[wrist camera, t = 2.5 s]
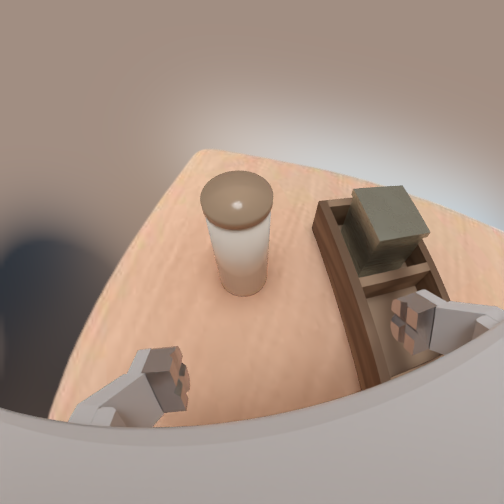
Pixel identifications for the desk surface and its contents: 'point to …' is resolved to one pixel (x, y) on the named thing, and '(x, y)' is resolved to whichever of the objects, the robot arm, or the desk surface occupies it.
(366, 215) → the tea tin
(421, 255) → the crate
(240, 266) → the lidded white canister
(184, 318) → the desk surface
